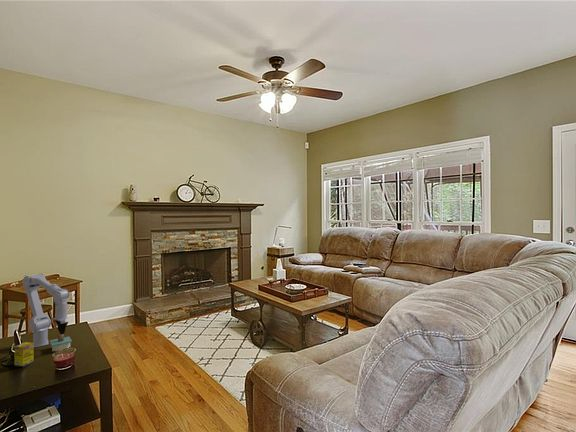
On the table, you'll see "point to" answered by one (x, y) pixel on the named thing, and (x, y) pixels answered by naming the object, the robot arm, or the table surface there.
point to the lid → (60, 340)
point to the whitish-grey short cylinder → (60, 347)
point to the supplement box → (24, 354)
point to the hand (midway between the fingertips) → (61, 332)
